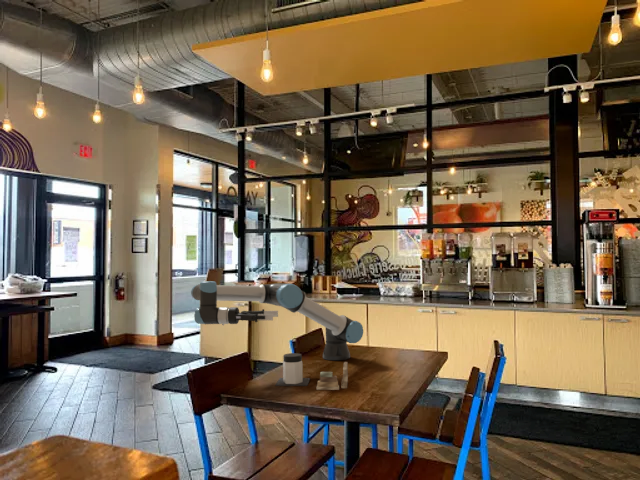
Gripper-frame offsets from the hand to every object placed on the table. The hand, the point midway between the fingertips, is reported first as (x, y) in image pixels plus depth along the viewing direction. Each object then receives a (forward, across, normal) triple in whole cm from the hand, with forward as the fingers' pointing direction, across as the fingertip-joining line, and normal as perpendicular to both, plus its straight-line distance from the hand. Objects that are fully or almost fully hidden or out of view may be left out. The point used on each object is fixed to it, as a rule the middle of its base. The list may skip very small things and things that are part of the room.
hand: (275, 315), depth 215 cm
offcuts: (+24, +11, -29) cm, 39 cm away
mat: (+8, 0, -30) cm, 31 cm away
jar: (+8, +2, -30) cm, 31 cm away
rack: (+26, +4, -30) cm, 39 cm away
